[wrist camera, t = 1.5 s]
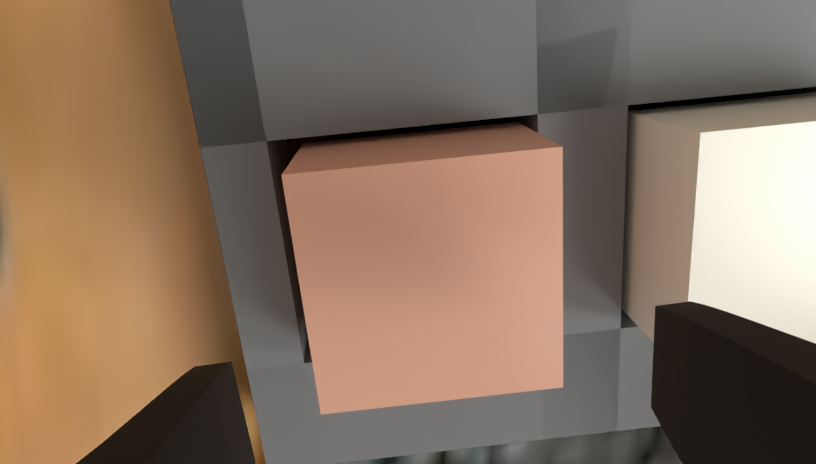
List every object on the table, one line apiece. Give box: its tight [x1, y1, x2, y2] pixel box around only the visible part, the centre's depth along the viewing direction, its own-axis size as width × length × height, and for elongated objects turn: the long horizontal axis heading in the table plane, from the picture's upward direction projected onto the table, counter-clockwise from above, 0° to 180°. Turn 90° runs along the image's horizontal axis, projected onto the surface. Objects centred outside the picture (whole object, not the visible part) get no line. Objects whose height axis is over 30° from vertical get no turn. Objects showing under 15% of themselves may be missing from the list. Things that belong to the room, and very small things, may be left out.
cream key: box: [621, 92, 816, 343], centre depth 15 cm, size 6×6×4 cm
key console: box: [169, 0, 816, 464], centre depth 17 cm, size 20×14×3 cm
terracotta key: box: [281, 122, 563, 415], centre depth 15 cm, size 6×6×4 cm
